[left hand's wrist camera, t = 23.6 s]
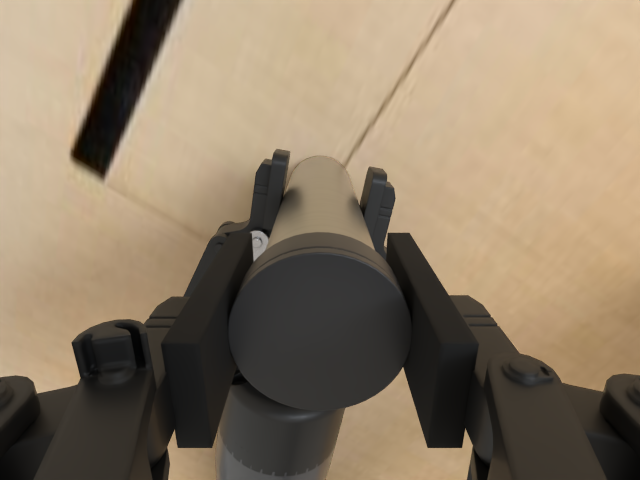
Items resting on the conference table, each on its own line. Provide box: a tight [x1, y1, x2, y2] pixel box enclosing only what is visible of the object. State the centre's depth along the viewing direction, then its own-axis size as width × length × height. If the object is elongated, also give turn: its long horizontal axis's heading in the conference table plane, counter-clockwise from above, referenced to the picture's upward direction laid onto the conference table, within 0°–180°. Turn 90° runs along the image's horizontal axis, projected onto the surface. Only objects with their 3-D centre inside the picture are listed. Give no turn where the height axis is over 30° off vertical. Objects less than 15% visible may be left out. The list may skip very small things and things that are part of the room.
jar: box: [266, 156, 375, 250], centre depth 19 cm, size 4×4×16 cm
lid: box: [228, 232, 412, 411], centre depth 11 cm, size 5×5×2 cm
